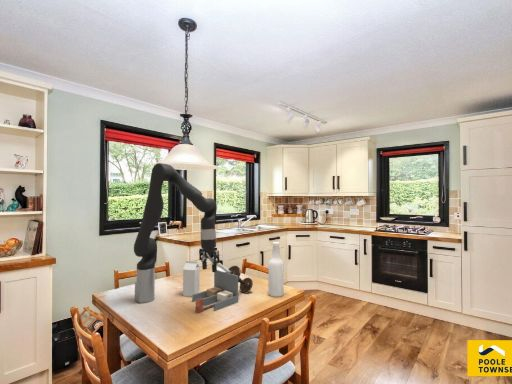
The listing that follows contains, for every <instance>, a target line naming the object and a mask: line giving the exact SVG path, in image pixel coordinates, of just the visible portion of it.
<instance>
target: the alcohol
mask: <svg viewBox="0 0 512 384" xmlns="http://www.w3.org/2000/svg"><path fill="white" fill-rule="evenodd" d="M280 250H281V249H280V242H279V241H273V242H272V251H271V252H272V254H271V258H270V259H269V260H268V266H267V267H268V272H267V274H268V281H267V282H268V285H267V287H268V289H267V290H268V291H267V292H268V295H269V296H270V297H274V298H279V297H282V296H283V295H284V292H285V291H284V288H285V287H284V284H285V280H284V277H285V275H284V272H285V269H284V268H285V267H284V261H283V259H282V258H281V251H280Z"/></svg>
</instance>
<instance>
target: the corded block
mask: <svg viewBox="0 0 512 384" xmlns="http://www.w3.org/2000/svg"><path fill="white" fill-rule="evenodd" d="M230 297H233V293H232V292H229V291H226V290H225V291H222V292H219V293H217V302H219V301H222V300H225V299H227V298H230ZM211 308H214V303H212V304H209V305H206V306H204V298H203V299H202V298H199V299H196V301H195V313H197V314H200V313H203V312H204V311H205V310H209V309H211Z"/></svg>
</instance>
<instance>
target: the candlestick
mask: <svg viewBox="0 0 512 384" xmlns="http://www.w3.org/2000/svg"><path fill="white" fill-rule="evenodd" d="M213 261H214V260H213ZM217 267H218V268H220V269H221V270H222V271H223V272H226V273H230V274H234V275H237V276H238V283H239V290H240V292H241V293H243V294H247V293H248V292H249V291H250V290H252V287H253V285H254V281H253V279H252V278H250V277H245V278H244V279H242V278H241V274H242V272H241V268H240V267H239V266H238V265H231V266H230V267H228V268H227V267H226V266H225V265H223V264H222V263H221V262H219V263H217Z"/></svg>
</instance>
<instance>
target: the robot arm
mask: <svg viewBox="0 0 512 384" xmlns="http://www.w3.org/2000/svg"><path fill="white" fill-rule="evenodd" d="M150 174H151V175H150V180H149V188H148V193H147V197H146V202H145V205H144V210H143V214H142V219H141V222H140V226H139V230H138V233H137V235H136V238H135V241H134V244H133V252H134V255H135V256H136V257H138V258H141V259H140V260H139V261H138V262H137V263H136V282H135V283H134V301H135V302H137V303H139V304H142V303H144V304H145V303H149V302H152V301H154V300H155V296H156V295H155V290H156V288H155V287H156V285H155V284H156V282H155V281H156V280H155V278H156V275H155V274H156V273H155V272H156V269H155V268H156V263H157V260H158V259H157V257H158V256H157V255H158V244H157V241H156V240H155V239H154V238H152V237H151V235H152V232H153V231H154V228H156V226H157V225H158V223H159V222H160V220H161V218H162V215H163V211H164V206H165V205H164V204H165V203H164V199H163V195H162V189H163V186H164V185H163V184H164V182H168V183H170V184H172V185H174V186H175V187H176V188H177V189H178V191H179V192H180V194H181V195H182V196H183V197H185V199H187V200H188V201H190V202H191V203H192V204H193V206H194V207H195V208H196V209H197V210H198V211H200V212H201V213H204V214H203V217H201V219H200V248H199V250H198V253H199V257H198V260H199V261H201V262H202V263H201V265H202V267H201V268H202V270H203V271H204V270H207V269H208V264H207V263H208V260H209V261H210V262H211V272H212V273H214V272H216V271H217V270H218V268H217V267H218V266H217V263H221V262H220V251H219V250H215V248H217V234H216V233H217V232H216V216H217V211H218V209H217V208H218V206H217V205H218V204H217V201H216V200H215V199H214V198H212V197H210V198H208V197H207V198H206V197H204V195H203V193H202V191H200V189H198V188H197V187H195V186H194V185H192V184H191V183H190V182H189V181H188V180H186V179H185V178H184V177H183V176H182V175H181V174H180V172H178V171H177V170H176V169H175V168H174V167H173V166H172V165H170V164H168V163H162V162H161V163H160V162H158V163H156V164H154V166H153V167H152V169H151V173H150ZM213 260H214V261H213Z"/></svg>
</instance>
